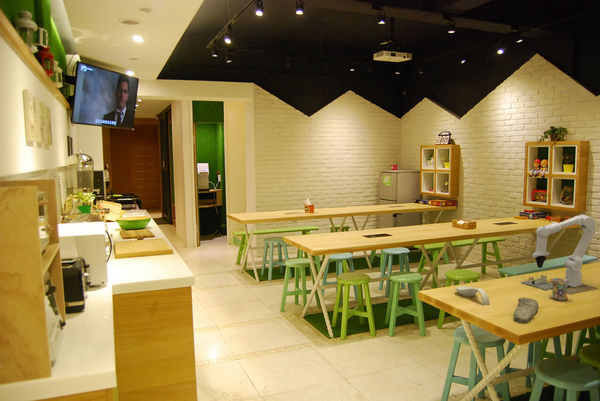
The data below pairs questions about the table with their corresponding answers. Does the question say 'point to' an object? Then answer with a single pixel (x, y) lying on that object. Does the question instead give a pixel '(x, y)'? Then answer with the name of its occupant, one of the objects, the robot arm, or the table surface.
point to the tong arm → (541, 280)
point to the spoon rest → (473, 293)
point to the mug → (559, 288)
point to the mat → (540, 285)
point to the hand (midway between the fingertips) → (539, 267)
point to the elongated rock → (525, 310)
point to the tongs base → (534, 280)
